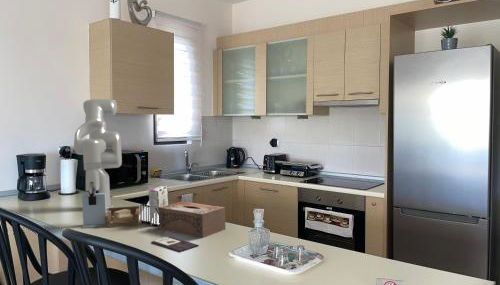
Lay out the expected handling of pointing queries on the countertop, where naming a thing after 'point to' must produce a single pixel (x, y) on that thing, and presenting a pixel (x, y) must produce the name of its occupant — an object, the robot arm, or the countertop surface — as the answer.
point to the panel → (94, 209)
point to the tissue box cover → (192, 218)
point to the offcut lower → (122, 219)
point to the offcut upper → (122, 213)
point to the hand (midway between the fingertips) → (94, 202)
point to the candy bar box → (157, 199)
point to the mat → (93, 226)
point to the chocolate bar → (174, 244)
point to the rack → (108, 219)
